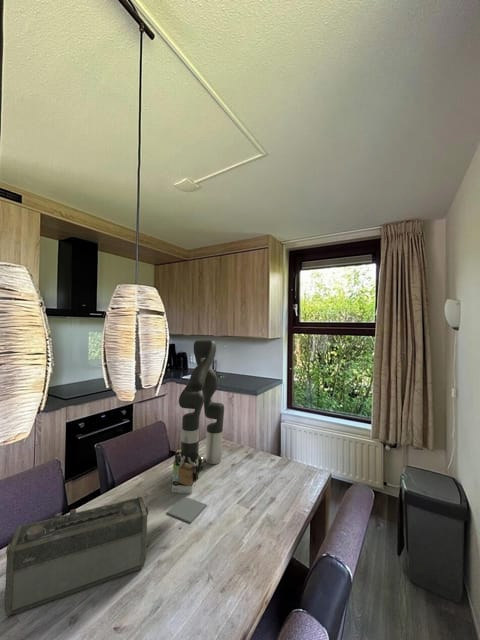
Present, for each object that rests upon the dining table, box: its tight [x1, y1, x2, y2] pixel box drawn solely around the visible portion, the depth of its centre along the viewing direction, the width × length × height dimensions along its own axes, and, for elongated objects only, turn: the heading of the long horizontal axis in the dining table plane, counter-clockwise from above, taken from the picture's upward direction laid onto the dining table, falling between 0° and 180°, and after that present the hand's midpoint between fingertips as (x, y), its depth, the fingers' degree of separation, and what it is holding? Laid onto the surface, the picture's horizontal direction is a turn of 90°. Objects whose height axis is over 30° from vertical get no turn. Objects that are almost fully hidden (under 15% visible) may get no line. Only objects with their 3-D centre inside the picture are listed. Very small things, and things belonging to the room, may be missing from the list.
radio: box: [4, 496, 149, 616], centre depth 88 cm, size 38×14×20 cm, turn 118°
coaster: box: [166, 496, 208, 524], centre depth 119 cm, size 12×12×1 cm
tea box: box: [171, 447, 200, 494], centre depth 137 cm, size 15×10×15 cm, turn 179°
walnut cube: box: [178, 463, 199, 486], centre depth 119 cm, size 6×6×6 cm
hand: (188, 478), depth 119 cm, fingers closed on walnut cube, 6 cm apart
